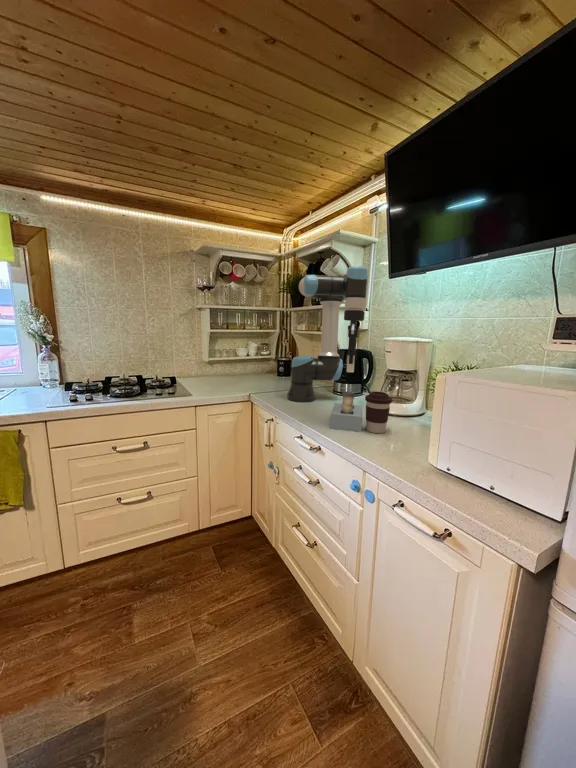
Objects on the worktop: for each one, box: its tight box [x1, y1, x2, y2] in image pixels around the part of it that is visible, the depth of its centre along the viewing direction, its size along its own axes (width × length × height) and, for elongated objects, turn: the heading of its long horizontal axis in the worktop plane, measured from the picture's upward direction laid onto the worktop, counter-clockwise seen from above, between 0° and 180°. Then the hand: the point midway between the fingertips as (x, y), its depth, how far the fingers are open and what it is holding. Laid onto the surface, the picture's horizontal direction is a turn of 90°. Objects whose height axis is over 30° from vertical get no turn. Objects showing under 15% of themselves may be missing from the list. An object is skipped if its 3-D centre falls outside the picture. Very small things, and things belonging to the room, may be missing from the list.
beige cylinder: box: [341, 390, 355, 414], centre depth 127 cm, size 5×5×9 cm
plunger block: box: [329, 402, 363, 433], centre depth 132 cm, size 18×12×6 cm, turn 167°
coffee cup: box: [364, 391, 393, 434], centre depth 124 cm, size 10×10×15 cm
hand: (350, 371), depth 124 cm, fingers closed
